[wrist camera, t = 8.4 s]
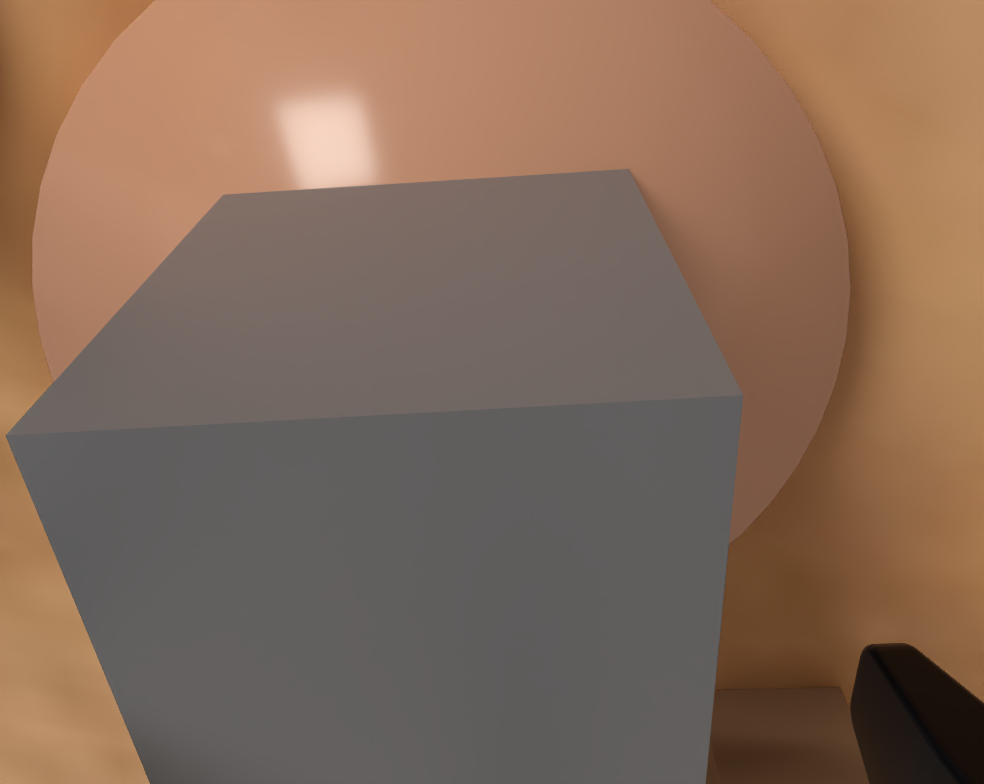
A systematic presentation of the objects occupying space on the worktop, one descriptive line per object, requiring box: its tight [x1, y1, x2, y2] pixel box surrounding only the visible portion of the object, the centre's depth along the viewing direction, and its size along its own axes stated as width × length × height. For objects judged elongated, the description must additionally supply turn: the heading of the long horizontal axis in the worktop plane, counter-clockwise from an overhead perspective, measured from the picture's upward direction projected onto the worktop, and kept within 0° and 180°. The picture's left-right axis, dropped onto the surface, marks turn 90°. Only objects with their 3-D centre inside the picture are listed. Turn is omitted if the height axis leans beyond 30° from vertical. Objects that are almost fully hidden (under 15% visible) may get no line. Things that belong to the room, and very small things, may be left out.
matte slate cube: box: [6, 169, 743, 784], centre depth 12 cm, size 6×6×7 cm
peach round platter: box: [32, 0, 851, 544], centre depth 16 cm, size 14×14×1 cm
